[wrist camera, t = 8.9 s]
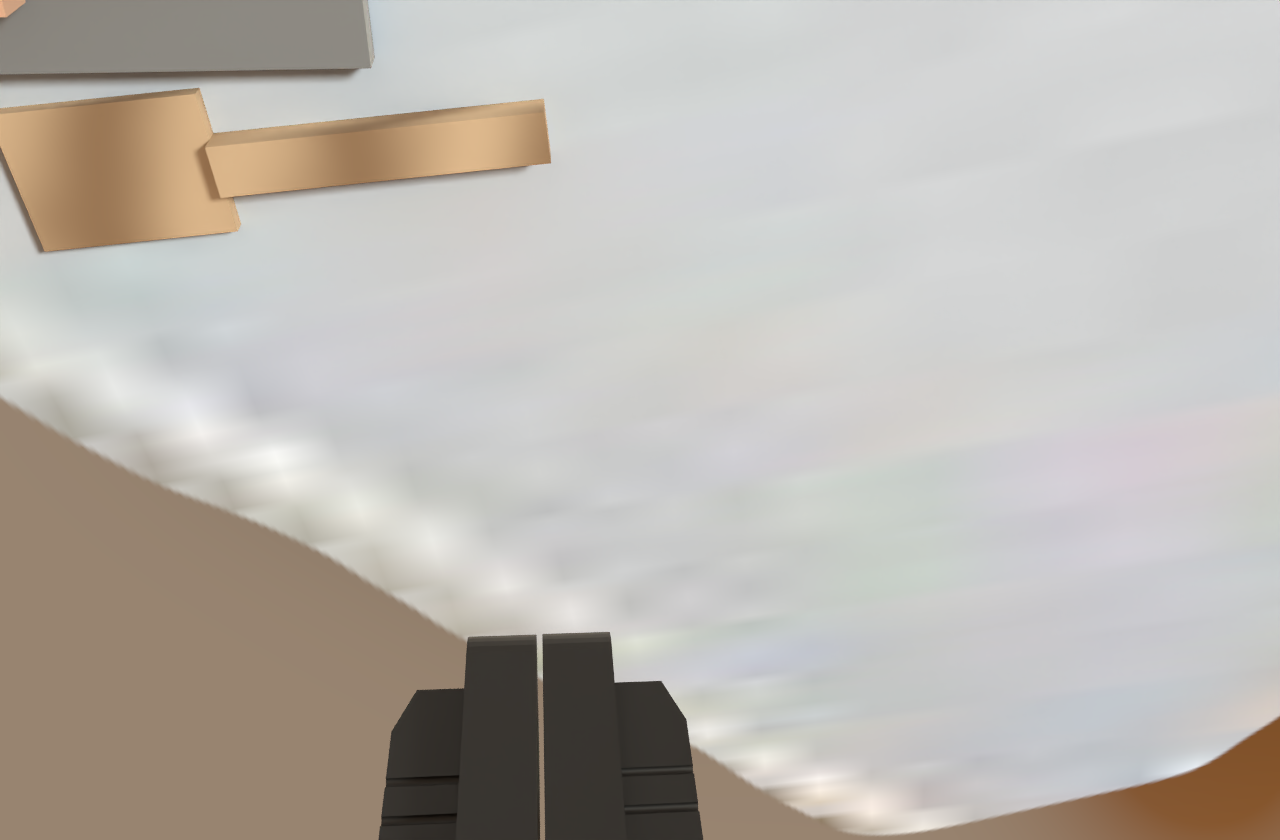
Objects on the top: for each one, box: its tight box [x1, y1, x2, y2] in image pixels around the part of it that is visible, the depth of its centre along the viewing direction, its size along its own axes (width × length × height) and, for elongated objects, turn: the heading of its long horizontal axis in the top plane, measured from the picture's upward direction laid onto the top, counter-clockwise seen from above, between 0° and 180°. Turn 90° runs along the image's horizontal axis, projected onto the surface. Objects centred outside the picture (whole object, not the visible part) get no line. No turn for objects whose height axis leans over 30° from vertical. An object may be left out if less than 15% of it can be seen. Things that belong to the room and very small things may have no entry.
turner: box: [0, 88, 551, 252], centre depth 35 cm, size 16×4×1 cm, turn 94°
